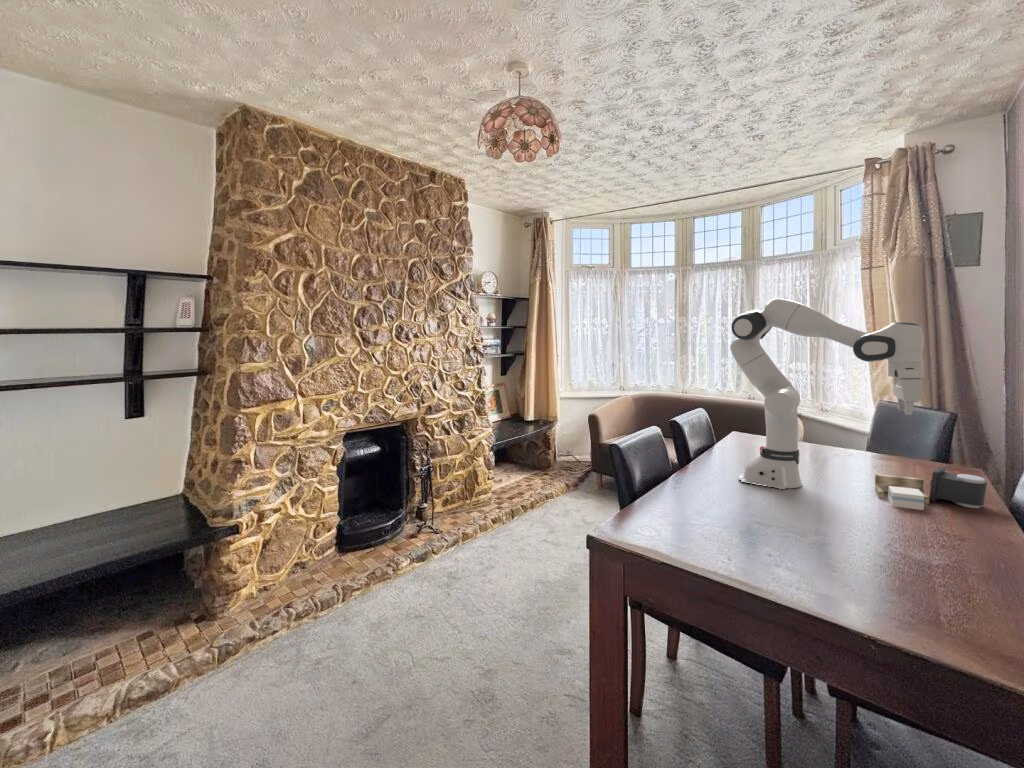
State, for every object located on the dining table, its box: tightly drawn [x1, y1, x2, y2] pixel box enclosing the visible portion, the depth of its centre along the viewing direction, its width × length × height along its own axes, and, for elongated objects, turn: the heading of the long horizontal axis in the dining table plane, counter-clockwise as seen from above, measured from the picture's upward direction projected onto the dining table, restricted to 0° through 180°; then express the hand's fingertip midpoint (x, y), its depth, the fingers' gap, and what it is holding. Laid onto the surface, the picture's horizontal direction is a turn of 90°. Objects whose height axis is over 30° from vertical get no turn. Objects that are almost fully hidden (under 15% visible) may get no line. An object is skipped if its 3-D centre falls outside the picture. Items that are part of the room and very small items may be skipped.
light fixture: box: [929, 466, 988, 509], centre depth 154 cm, size 11×13×11 cm
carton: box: [887, 486, 925, 511], centre depth 154 cm, size 8×8×5 cm
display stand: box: [874, 473, 930, 505], centre depth 162 cm, size 13×10×6 cm
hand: (905, 412), depth 149 cm, fingers open, 8 cm apart
